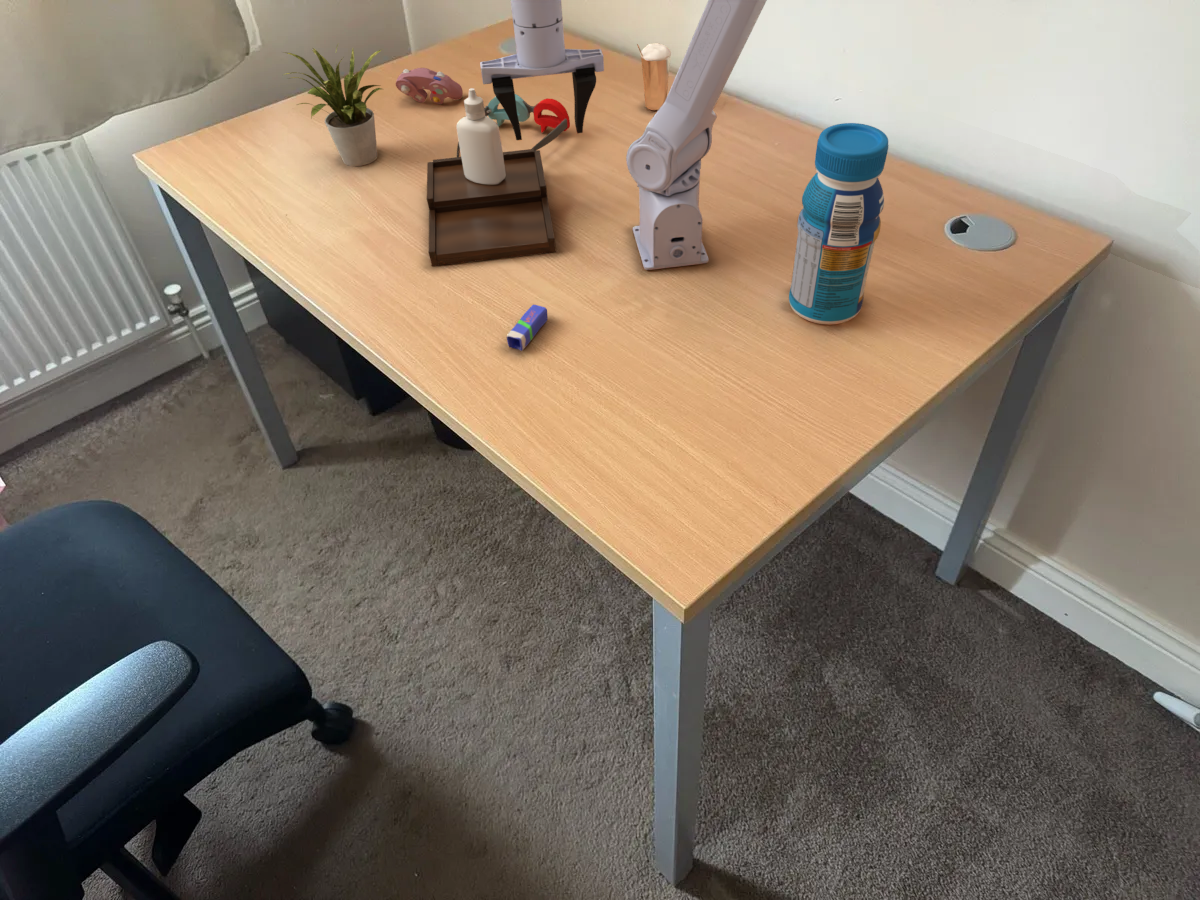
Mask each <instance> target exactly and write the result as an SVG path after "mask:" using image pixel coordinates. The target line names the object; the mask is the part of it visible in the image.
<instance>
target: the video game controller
mask: <svg viewBox="0 0 1200 900" xmlns="http://www.w3.org/2000/svg"><path fill="white" fill-rule="evenodd" d="M395 87H396V89H397V90H398V91H399V92H401V93H402V94H404V95H406V96H408V97H411V98H412V99H413V100H415V101H416V102H418V103H422V104H423V103H425V102H426V101H427V98H428V92H427V91H430V95H429V99H430V102H433V104H438V105H443V103H444V101H445V99H451V100H456V101H457V100H461V99H462V97H463V96H464V95H463V94H464V91H463V88H462V85H461V84H460V83H458V82H457V81H455V80H453V79H452V78H451V76H449V75H448V74H445V73H444V72H442V71H435V70H433V69H429V68H426V67H417V68H412V69H411V70H409V69H408V68H403V71H402V72H401V73H400V74H399V75H398V76H397V78H396V81H395Z"/></svg>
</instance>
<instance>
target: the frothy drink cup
mask: <svg viewBox="0 0 1200 900" xmlns="http://www.w3.org/2000/svg"><path fill="white" fill-rule="evenodd" d="M636 46H637V48H638V51H639V54H640V60H641V61H640V62H641V71H642V79H643V80H642V81H643V92H644V93H643V94H644V104H645V107H646V109H648V110H651V111H658V110H659V109H660V108H661V106H662V105H663V104H664V102H665V100H666V98H667V96H668V88H669V77H670V76H669V75H670V67H671V58H672V52H671V49H670V48H669V47H668V46H667V45H665V44H661V43H658V42H655V43H648V44H646V46H645V47H644V48H642V50H641V48H640V45H639V44H638V43H636Z"/></svg>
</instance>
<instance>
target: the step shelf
mask: <svg viewBox="0 0 1200 900" xmlns="http://www.w3.org/2000/svg"><path fill="white" fill-rule="evenodd" d="M503 158H504V166H505V173H506V177H505V179H504V180H502V181H501V182H500V183H499V184H496V185H485V184H479V183H475V182H472V181H470V180H468V179H467V178H466V177H465V175H464V170H463V164H462V158H461V156H459V157H457V156H455V157H447V158H436V159H432V161H429V162H427V166H426V167H427V168H426V202H427V206H428V255H429V260H430V265H431V267H437V266H438V267H439V266H446V265H455V264H465V263H473V262H481V261H489V260H491V261H492V260H499V259H507V258H516V257H525V256H533V255H543V254H549V253H556V251H557V250H556V249H557V248H556V240H555V233H554V227H553V221H552V216H551V210H550V205H549V199H548V190H547V184H546V177H545V172H544V165H543V161H542V155H541V150H540V149H538V150H537V151H534V149H532V148H530V149H529V148H528V149H520V150H510V151H503Z"/></svg>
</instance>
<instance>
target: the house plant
mask: <svg viewBox="0 0 1200 900" xmlns="http://www.w3.org/2000/svg"><path fill="white" fill-rule="evenodd" d="M338 47H339V44H337V45H336V47H335V52H337V50H338ZM383 50H384V49H379V50H377V51H374V52H373V53H372V54H371V55H369V57H368V58H367V59H366V61H365V62H364V64H363V65H362V67H361V69H360V70H359V71H357V72H356V73H354V71H355V51H354V48H352V49H351V56H350V60H349V70H348V71H349V72H348V73H347V74H346V75H345V76H344V77H343V85H342V79H341V75H340V63H341V62H342V60H343V59H344V57H342V58H341V59H340V60H339V62H338V63H337V64H336V66H335V67H336V68H335V69H334V67H333V66H332V64H331V63H329V61H328V60H327V59H326V58H325V57H324V56H323V55H322V54H321V53H320V52H318V50H317V49H315V48H314V47H312V49H311V51H312V52H313V53H314V55H316V57H317V58H318V61H319V63H320V66H321V68H322V70H323V73H324V74H325V77H326V78H327V80H324V79H323V78H322V76H321V75H320V74H319V73H318V72H317V70H316V69H315V68H314V66H312V65H311V63H310V62H309V61H307V59H305V58H304V57H302V56H301V55H298V54H295V53H292V52H287V51H286V52H284V51H282V53H284V54H287V55H290V56H293V57H295V58H297V59H298V60H299V61H301V62H302V64H304V65H305V66H306V67H307V68H308V69H309V71H310V72H311V73H312V74H313V75H314V76H315V77H316V78H317V79H316V78H315V77H313V76H312V75H309V74H307V73H303V72H300V74H302V75H304V76H307V77H308V78H310V79H311V80H313V81H314V82H315V83H316V84H317V85H319V86H315V85H314V84H313V83H311V82H310V81H309V80H307V79H305V78H303V77H299V76H293V77H289V78H288V77H287V79H288V80H289V79H297V78H298V79H301V80H303V81H304V82H307V83H308V84H309V85H311V86H312V87H310V89H309V90H308V91H307V94H308V95H312V96H314V97H317V98H320V99H322V100H323V101H324V102H325V103H318V104H316V105H313V104H312V103H309V102H301V103H297V104H296V106H298V105H311V106H312V108H311V111H310V120H312V118H313V117H314V116H315V115H316V114H318V112H319V111H321V110H322V111H324V112H326V113H328V115H326V117H325V118H324V124H325V126H326V129H327V131H328V133H329V135H330V137H331V139H332V141H333V143H334V145H335V147H336V150H337V152H338V154H339V156H340V158H341V160H342V162H343V164H344V165H346V166H350V167H361V166H366V165H369V164H371V163H373V162H374V161H376V159H378V146H377V136H376V135H377V132H376V123H375V121H376V120H375V113H374V111H373V110H372V109H371V108H369V107H367V104H366V103H367V101H368V100H369V99H370V98H371V96H373V94H375V93H376V92H378V91H380V90H383V88H382V87H381V86H382V85H381V84H380V85H379V84H369V85H364V86H362V87H360V88H359V86H360V83H361V80H362V78H363V76H364V74H365V72H366V70H367V69H368V68H369V66H370V64H371V62H372V60H373V58H374V57H376V55H378V53H380V52H381V51H383ZM290 74H298V72H297V71H294V72H293V71H292V72H286V73H284V74H282V76H284V75H290ZM342 86H343V87H342ZM321 87H322V88H321ZM373 87H376V88H373ZM343 88H344V91H343ZM371 88H373V89H372V90H371V91H370V92H369V93H368V94H367V96H366V98H365V99H364V101H362V100H363V95H364V93H365V92H366V91H367V90H368V89H371ZM325 106H328V107H330V108H331V109H332V112H328V111H326V110H324V109H323V108H324V107H325Z"/></svg>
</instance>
